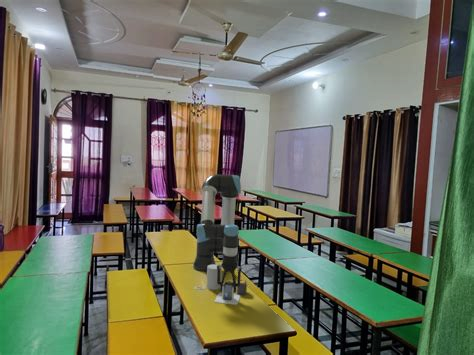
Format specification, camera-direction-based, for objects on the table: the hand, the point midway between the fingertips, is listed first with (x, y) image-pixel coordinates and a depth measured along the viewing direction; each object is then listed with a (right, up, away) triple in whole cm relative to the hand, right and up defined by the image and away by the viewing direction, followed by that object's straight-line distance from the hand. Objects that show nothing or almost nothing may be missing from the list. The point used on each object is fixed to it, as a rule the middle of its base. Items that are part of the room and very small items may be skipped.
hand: (227, 297), depth 179 cm
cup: (-9, 0, +15) cm, 18 cm away
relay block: (+7, -1, +9) cm, 12 cm away
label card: (-16, +1, +13) cm, 21 cm away
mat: (0, -1, 0) cm, 1 cm away
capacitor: (0, 0, 0) cm, 0 cm away
